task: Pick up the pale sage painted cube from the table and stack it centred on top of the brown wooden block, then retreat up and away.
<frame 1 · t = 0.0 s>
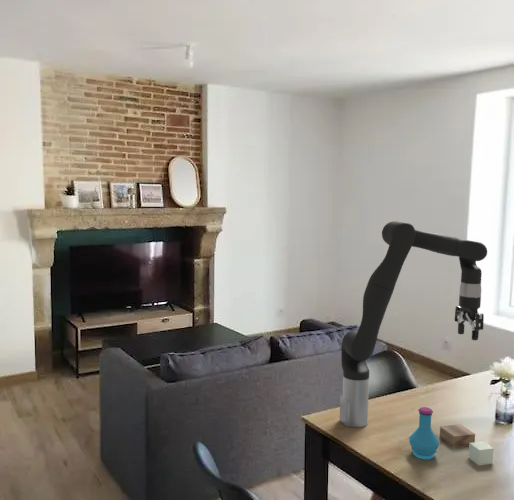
hand: (467, 336, 210), 29 cm above the table, tool pointing down, fingers open, 8 cm apart
brown wooden block: (456, 441, 189), on the table
sage cube: (480, 460, 175), on the table
perfume bottle: (423, 454, 179), on the table
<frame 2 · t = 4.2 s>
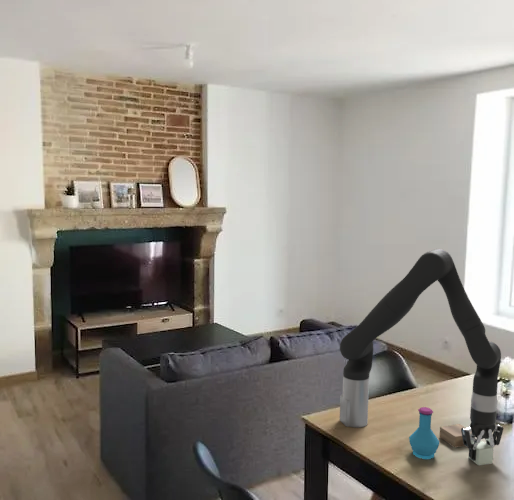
hand: (480, 458, 175), 1 cm above the table, tool pointing down, fingers closed on sage cube, 5 cm apart
sage cube: (480, 460, 175), on the table, touching gripper
everything else where it was.
when the fingers open (6 cm above the table, at t = 9.2 s): sage cube drops 1 cm, resting on brown wooden block.
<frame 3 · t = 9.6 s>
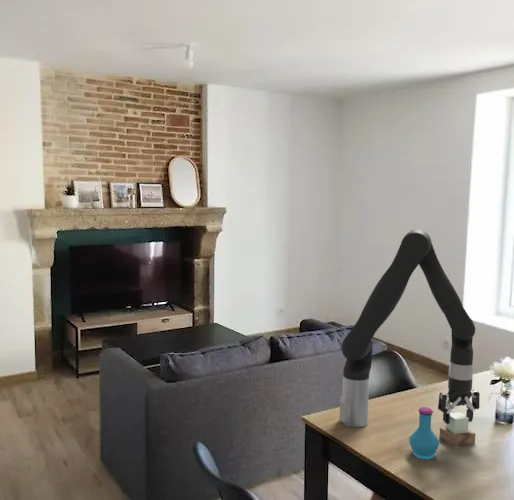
hand: (457, 422, 188), 6 cm above the table, tool pointing down, fingers open, 8 cm apart
brown wooden block: (456, 441, 189), on the table, touching sage cube
sage cube: (456, 430, 188), point 4 cm above the table, touching brown wooden block
everything else where it was.
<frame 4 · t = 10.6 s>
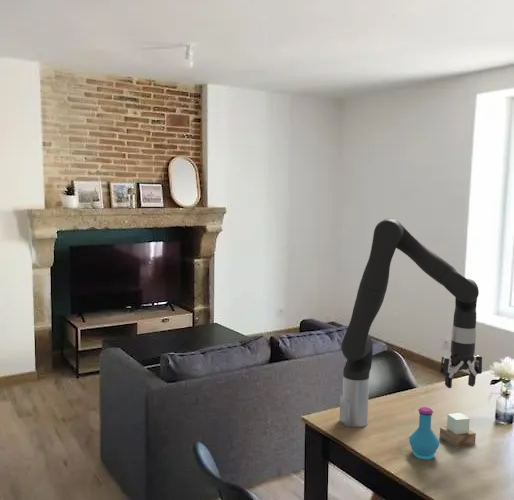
hand: (459, 386, 187), 19 cm above the table, tool pointing down, fingers open, 8 cm apart
nothing on the table moved.
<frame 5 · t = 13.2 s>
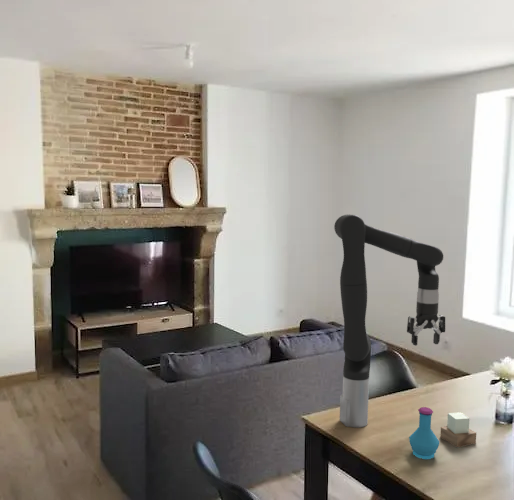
hand: (425, 344, 203), 28 cm above the table, tool pointing down, fingers open, 8 cm apart
nothing on the table moved.
at the end: sage cube 0.3 cm off-centre on the brown wooden block, point 4.0 cm above the brown wooden block's base; sage cube tilted 0°; the gripper is holding nothing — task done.
